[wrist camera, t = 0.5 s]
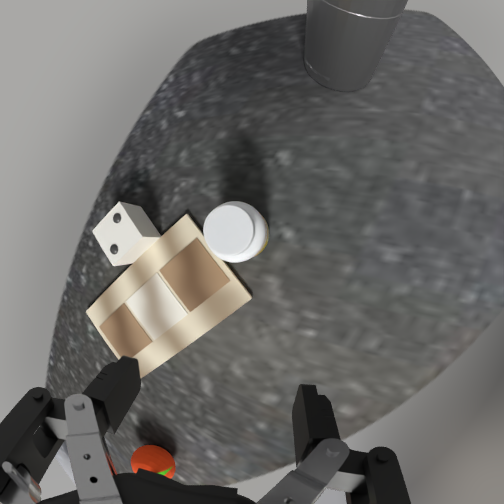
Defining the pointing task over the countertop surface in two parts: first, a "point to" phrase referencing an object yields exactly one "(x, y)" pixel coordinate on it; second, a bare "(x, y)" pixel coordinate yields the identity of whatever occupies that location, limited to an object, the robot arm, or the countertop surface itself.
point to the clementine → (153, 460)
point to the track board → (167, 298)
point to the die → (125, 233)
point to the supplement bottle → (235, 231)
